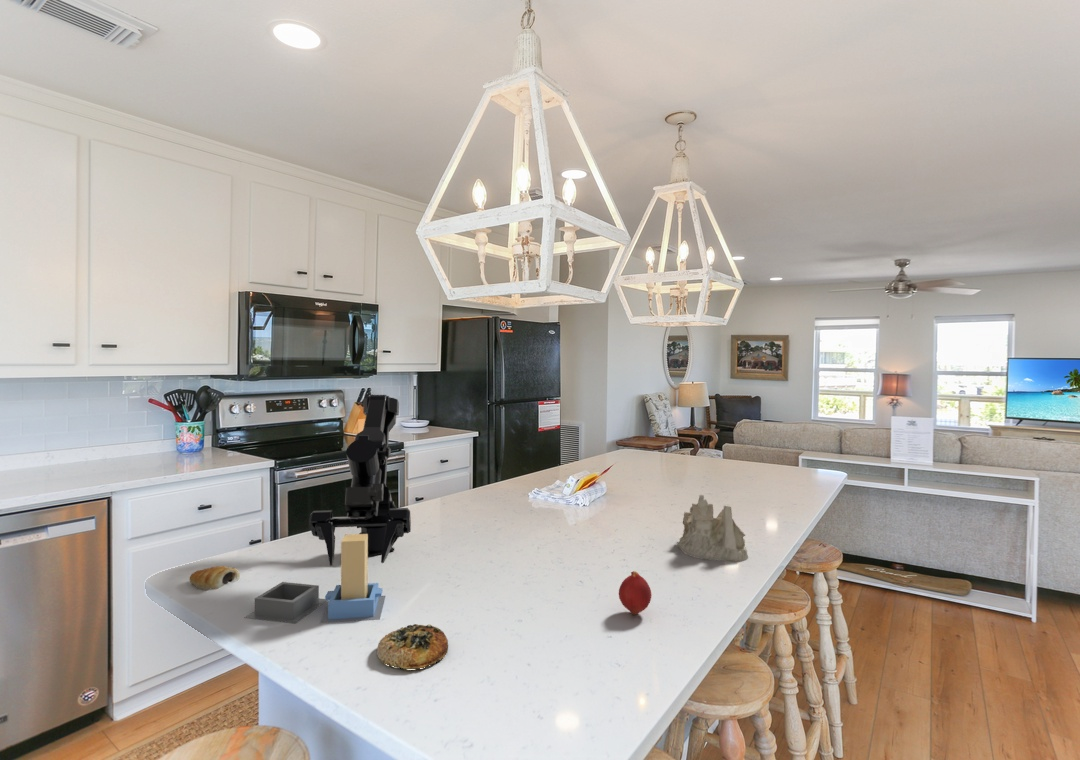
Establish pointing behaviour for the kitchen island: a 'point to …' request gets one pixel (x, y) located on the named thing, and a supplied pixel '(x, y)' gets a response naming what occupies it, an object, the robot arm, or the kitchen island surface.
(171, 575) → the kitchen island surface
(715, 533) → the grey sandcastle model
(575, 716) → the kitchen island surface
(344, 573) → the tall tan pillar
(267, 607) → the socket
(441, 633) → the bread roll
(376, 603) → the blue bezel socket
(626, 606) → the onion
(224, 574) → the pastry
